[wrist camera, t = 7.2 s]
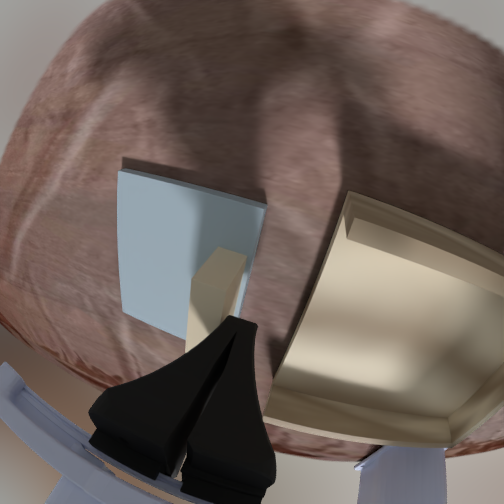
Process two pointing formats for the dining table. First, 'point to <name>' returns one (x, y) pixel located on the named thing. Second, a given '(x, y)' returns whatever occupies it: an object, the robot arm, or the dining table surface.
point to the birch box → (395, 335)
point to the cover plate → (183, 253)
